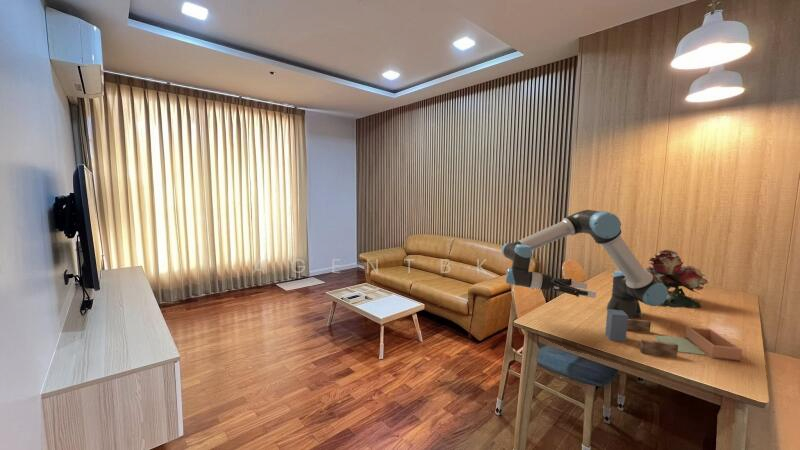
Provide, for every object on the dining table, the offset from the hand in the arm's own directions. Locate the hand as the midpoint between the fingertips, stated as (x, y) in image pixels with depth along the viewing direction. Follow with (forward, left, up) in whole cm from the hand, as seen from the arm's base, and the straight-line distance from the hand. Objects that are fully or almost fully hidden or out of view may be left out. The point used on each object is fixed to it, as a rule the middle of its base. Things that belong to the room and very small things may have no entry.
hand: (591, 290), depth 146 cm
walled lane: (-22, +1, -20) cm, 30 cm away
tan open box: (-46, +1, -20) cm, 50 cm away
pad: (-34, +1, -20) cm, 40 cm away
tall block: (-11, +1, -21) cm, 23 cm away
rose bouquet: (-59, -63, -21) cm, 88 cm away
